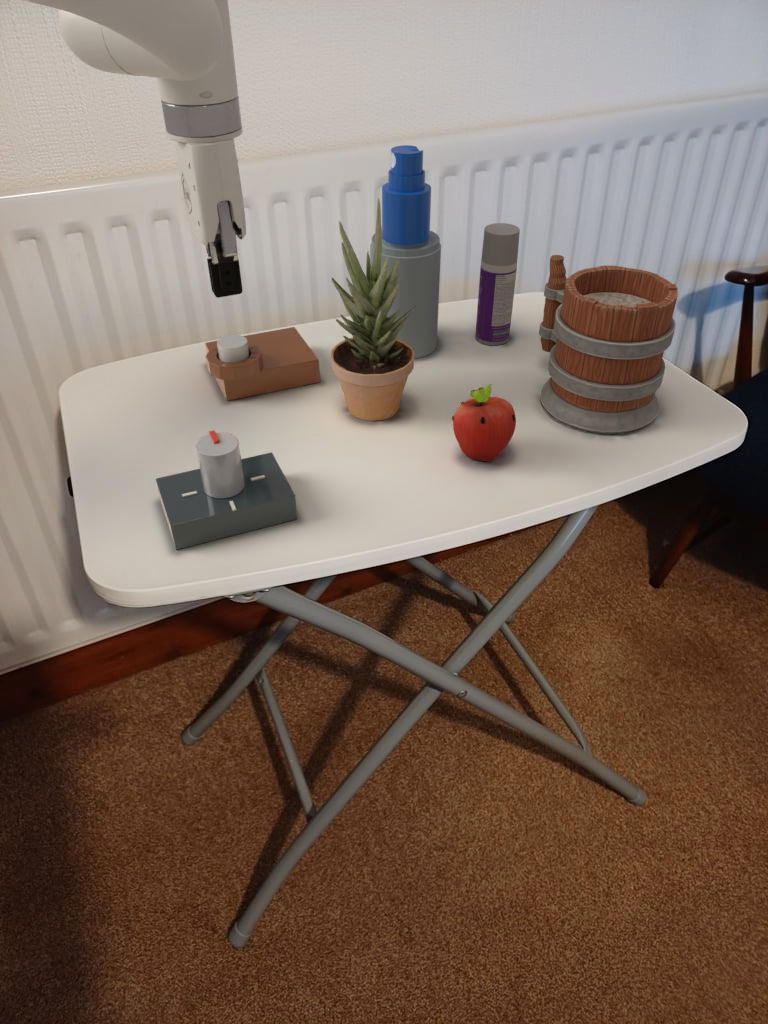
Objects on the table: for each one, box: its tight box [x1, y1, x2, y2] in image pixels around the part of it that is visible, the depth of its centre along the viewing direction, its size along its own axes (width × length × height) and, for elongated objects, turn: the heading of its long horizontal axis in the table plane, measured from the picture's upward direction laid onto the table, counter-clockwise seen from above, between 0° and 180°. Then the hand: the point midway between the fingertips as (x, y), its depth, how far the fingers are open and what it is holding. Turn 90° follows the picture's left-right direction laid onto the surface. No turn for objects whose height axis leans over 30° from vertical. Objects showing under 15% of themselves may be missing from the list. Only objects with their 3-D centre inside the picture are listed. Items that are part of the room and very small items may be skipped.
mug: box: [538, 254, 679, 435], centre depth 92 cm, size 14×19×15 cm
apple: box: [451, 384, 517, 463], centre depth 83 cm, size 8×7×10 cm
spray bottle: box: [369, 144, 442, 360], centre depth 99 cm, size 9×9×25 cm
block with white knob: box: [204, 326, 321, 402], centre depth 98 cm, size 13×11×5 cm
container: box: [474, 222, 521, 346], centre depth 104 cm, size 5×5×15 cm
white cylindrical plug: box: [216, 334, 249, 363], centre depth 94 cm, size 4×4×2 cm
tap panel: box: [155, 452, 298, 551], centre depth 78 cm, size 12×8×3 cm
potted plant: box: [330, 197, 419, 422], centre depth 86 cm, size 10×10×25 cm
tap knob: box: [195, 430, 245, 498], centre depth 75 cm, size 4×4×5 cm
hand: (227, 292), depth 90 cm, fingers closed
